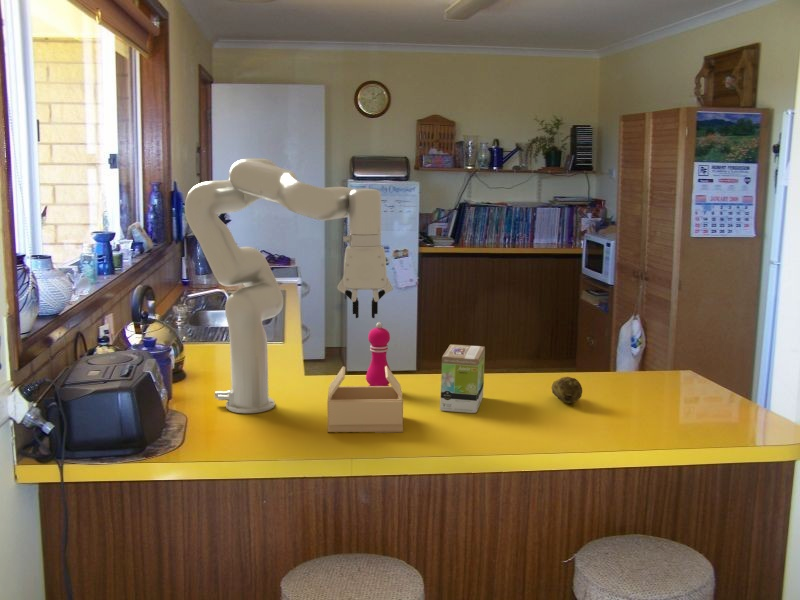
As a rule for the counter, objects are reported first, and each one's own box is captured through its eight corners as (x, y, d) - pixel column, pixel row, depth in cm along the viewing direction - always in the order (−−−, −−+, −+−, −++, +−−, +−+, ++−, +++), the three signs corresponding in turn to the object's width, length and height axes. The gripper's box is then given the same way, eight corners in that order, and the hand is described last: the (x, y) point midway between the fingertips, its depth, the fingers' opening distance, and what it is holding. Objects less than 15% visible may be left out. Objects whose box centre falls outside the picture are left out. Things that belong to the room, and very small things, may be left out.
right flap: (400, 397, 202) (385, 377, 201) (398, 385, 212) (384, 367, 211) (402, 396, 202) (387, 376, 201) (400, 384, 212) (386, 365, 211)
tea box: (477, 414, 217) (479, 358, 214) (439, 411, 219) (440, 356, 216) (484, 397, 232) (485, 344, 229) (447, 395, 234) (448, 342, 231)
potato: (582, 397, 232) (583, 369, 230) (581, 411, 220) (582, 382, 218) (551, 395, 234) (552, 367, 232) (548, 409, 221) (550, 379, 220)
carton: (327, 433, 201) (327, 401, 200) (329, 416, 214) (329, 385, 213) (402, 433, 202) (403, 400, 201) (400, 415, 215) (400, 385, 214)
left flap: (331, 386, 211) (345, 367, 211) (330, 398, 202) (344, 378, 201) (329, 385, 211) (343, 365, 211) (328, 396, 201) (342, 376, 201)
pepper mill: (388, 397, 231) (389, 325, 227) (363, 395, 232) (363, 324, 229) (394, 389, 238) (394, 320, 234) (369, 388, 239) (369, 319, 236)
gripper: (329, 243, 196) (330, 320, 199) (400, 243, 197) (399, 320, 200) (330, 239, 203) (331, 314, 207) (399, 239, 204) (398, 313, 207)
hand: (365, 316), depth 203 cm, fingers open, 3 cm apart
